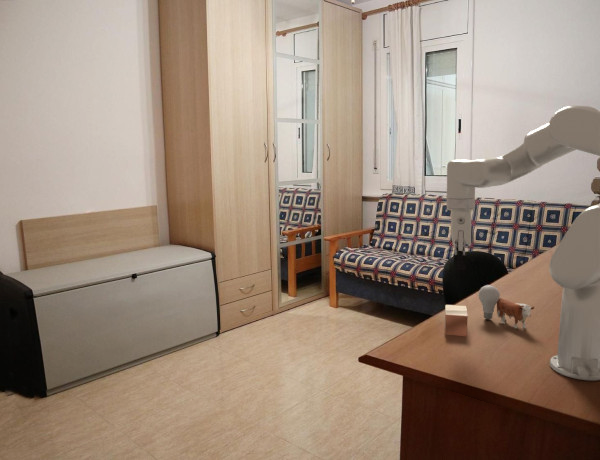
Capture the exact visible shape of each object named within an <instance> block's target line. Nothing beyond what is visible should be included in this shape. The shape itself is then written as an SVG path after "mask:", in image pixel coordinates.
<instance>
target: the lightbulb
mask: <svg viewBox="0 0 600 460" xmlns="http://www.w3.org/2000/svg"><path fill="white" fill-rule="evenodd" d="M500 295H501V294H500V291H499V289H498V288H497V287H495V286H493V285H491V284H486V285H484V286H482V287H480V289H479V291H478V299H479V301H480V303H481V305H482V311H483V318H484V319H485V320H486V321H490V320H491V319H493V317H494V315H493V314H494V311H495V307H496V306H497V302H498V300H499V299H500Z"/></svg>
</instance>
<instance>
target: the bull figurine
mask: <svg viewBox="0 0 600 460" xmlns="http://www.w3.org/2000/svg"><path fill="white" fill-rule="evenodd" d="M534 309H535V306H531V305H529V304H525V303H517V302H513V301H510V300H508V299H504V298H499V300H498V302H497V303H496V314H497V317H498V319H500V323H501V324H502V325H506V324H507V323H506V321H507V318H506V316H507V317H509V319H512V318H514V325H513V328H514V329H515V330H517V329H518V323H519V322H521V323H522V328H523V329H524V330H527V329H528V327H527V326H526V320H527V318H530V317H532V316H531V315H532V314H531V310H534Z"/></svg>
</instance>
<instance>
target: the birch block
mask: <svg viewBox="0 0 600 460" xmlns="http://www.w3.org/2000/svg"><path fill="white" fill-rule="evenodd" d="M468 316H469V315H468V310H467V306H466V305H455V304H445V308H444V335H446V336H447V335H449V336H459V337H461V336H462V337H467V336H468Z"/></svg>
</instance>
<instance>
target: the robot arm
mask: <svg viewBox="0 0 600 460" xmlns="http://www.w3.org/2000/svg"><path fill="white" fill-rule="evenodd" d="M576 150H577V151H581V152H584V153H587V154H592V155H593V156H594V155H595V156H598V157H600V111H599V110H598V109H596V108H595V107H592V106H589V105H588V106H587V105H568V106H564V107H562V108H560V109H559V110H557V111H556V112H555V113H554V114H553V115H552V116H551V118H550V120H549V122H548V123H546V124H544V125H541V126H540V127H538V128H536V129H534V130H531V131H530V132H528V133H527V134H526V135H524V139H523V143H522V144H521V145H519V146H518V147H516V148H515V149H512V150H511V151H509V152H506V153H505V154H503V155H501V156H499V157H493V158H490V157H489V158H480V159H475V160H472V159H452V160H449V161H448V162H447V164H446V211H450V232H451V233H450V236H451V241H452V245H453V246H454V253H453V269H455V270H465V269H466V267H467V266H466V264H467V263H466V260H467V255H466V245H467V246H468V247H471V246H472V211H475V208H476V188H477V189H478V188H479V189H484V188H491V187H496V186H497V187H499V186H502V185H506V184H509V183H510V182H513V181H515V180H517V179H519V178H521V177H524V176H526V175H528V174H530V173H532V172H534V171H535V170H537V169H539V168H541V167H542V166H544V165H546V164H548V163H550V162H552V161H554V160H556V159H559V158H561V157H563V156H565V155H568V154H569V153H571V152H574V151H576ZM548 264H549V266H548V267H549V268H548V271H549V273H550V276H551V279H552V280H553V281H554V282H555V283H556V284H557V285H558V286H560V287H561V288H563V289H562V295H561V305H560V316H559V317H560V318H559V320H560V321H559V329H558V344H557V353H556V355H554V356H551V358H550V359H549V366H550V368H552V370H554V371H555V372H557V373H559V374H560V375H562V376H565V377H568V378H572V379H576V380H581V381H600V203H598V204H594V205H592V206H589V207H587V208H586V209H584V210H583V211H582V212H580V213H579V215H578V216H576V218H575V219H574V220H573V222H572V224H571V225H570V227H569V228H568V229H567V231H566V233H565V235H564V236H563V237H562V239H561V241H560V242H559V244H558V245H557V247H556V249H555V250H554V252H553V253H552V256H551V257H550V260H549V263H548Z"/></svg>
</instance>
